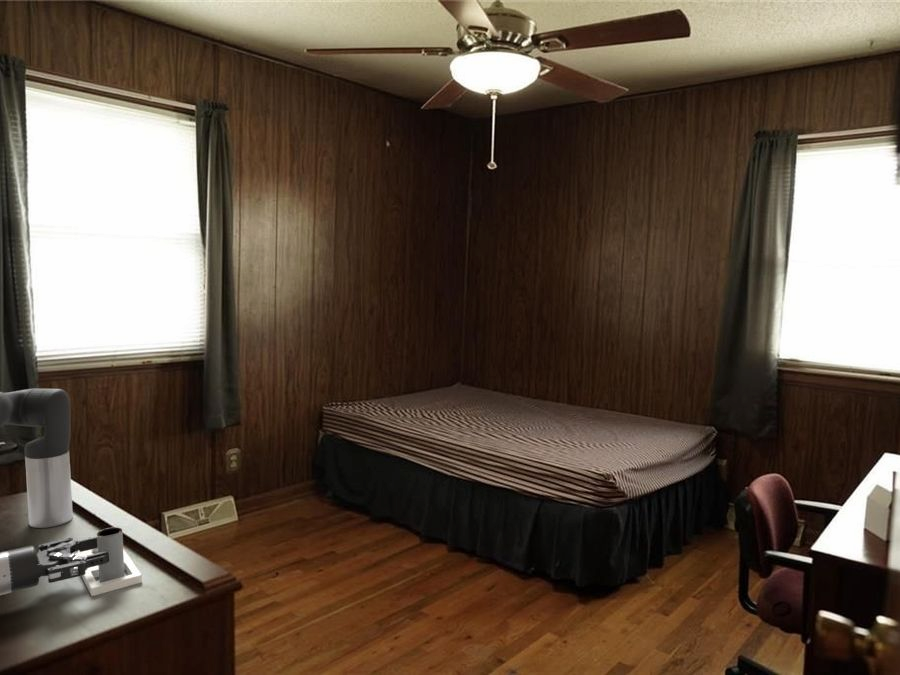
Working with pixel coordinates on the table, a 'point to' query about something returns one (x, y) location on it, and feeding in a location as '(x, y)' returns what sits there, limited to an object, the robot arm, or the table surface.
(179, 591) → the table surface
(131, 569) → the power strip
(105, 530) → the planter
